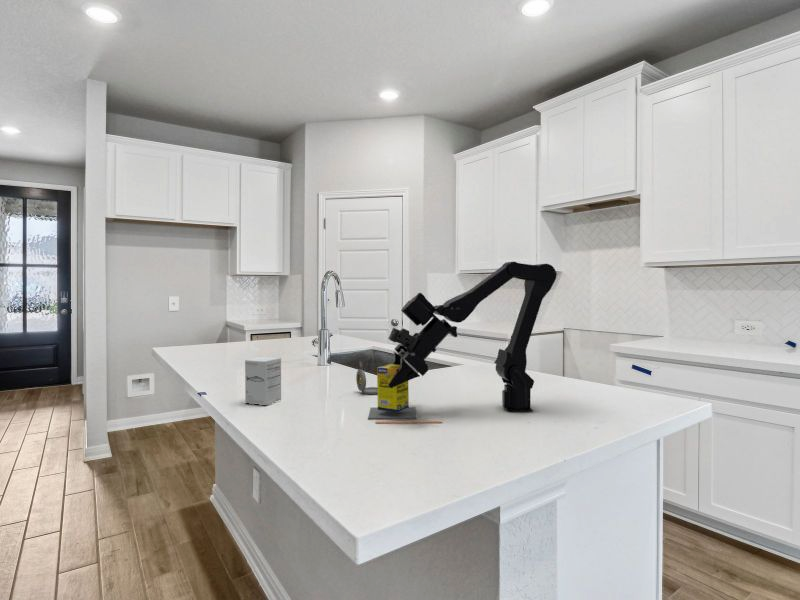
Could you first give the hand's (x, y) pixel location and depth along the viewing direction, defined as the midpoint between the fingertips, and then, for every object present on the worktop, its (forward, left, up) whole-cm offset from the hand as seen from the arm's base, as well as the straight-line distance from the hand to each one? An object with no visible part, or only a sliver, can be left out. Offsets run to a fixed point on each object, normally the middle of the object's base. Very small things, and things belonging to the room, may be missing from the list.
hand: (387, 382), depth 121 cm
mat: (-1, -1, -8) cm, 8 cm away
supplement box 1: (+36, -14, -8) cm, 39 cm away
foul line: (-5, +7, -8) cm, 12 cm away
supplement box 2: (-1, 0, -7) cm, 7 cm away
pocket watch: (+7, -25, -8) cm, 27 cm away
